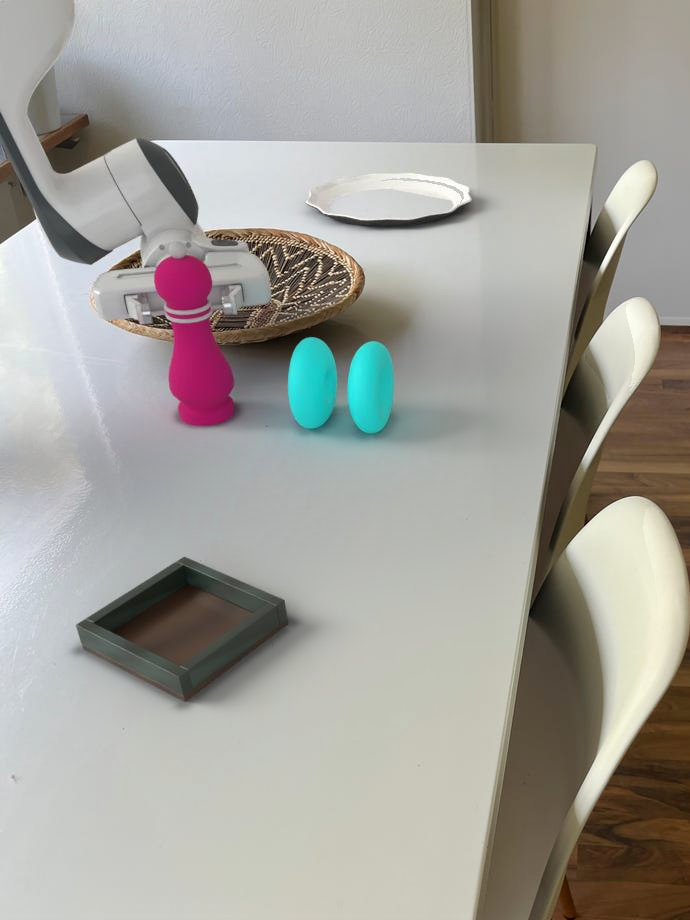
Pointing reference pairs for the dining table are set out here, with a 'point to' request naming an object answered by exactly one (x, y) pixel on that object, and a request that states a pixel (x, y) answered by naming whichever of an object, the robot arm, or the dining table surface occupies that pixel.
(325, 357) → the donuts
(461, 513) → the dining table surface
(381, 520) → the dining table surface
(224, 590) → the square tray
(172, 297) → the pepper mill
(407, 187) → the plate
